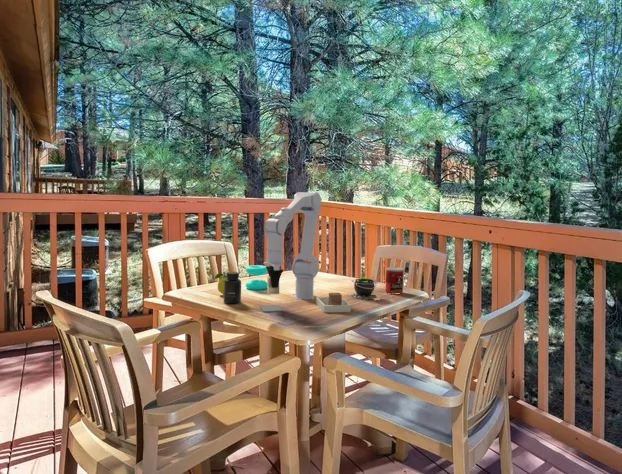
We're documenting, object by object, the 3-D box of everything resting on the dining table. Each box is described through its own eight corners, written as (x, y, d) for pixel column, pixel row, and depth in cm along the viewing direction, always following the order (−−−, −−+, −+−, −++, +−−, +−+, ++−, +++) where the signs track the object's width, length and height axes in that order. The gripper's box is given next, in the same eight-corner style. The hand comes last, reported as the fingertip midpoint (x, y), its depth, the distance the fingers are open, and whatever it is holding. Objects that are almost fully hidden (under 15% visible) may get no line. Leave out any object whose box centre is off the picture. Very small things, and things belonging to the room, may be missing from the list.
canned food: (391, 295, 220) (392, 270, 219) (381, 291, 227) (382, 267, 226) (406, 294, 223) (407, 269, 222) (396, 290, 230) (397, 266, 229)
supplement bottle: (228, 305, 194) (228, 274, 193) (220, 301, 200) (220, 272, 199) (244, 303, 198) (244, 273, 197) (236, 299, 204) (236, 270, 203)
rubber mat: (260, 306, 194) (260, 305, 194) (283, 305, 196) (283, 304, 196) (263, 312, 185) (263, 311, 185) (287, 311, 187) (287, 310, 187)
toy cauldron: (362, 303, 203) (363, 276, 202) (339, 296, 215) (339, 271, 214) (389, 299, 212) (390, 273, 211) (365, 292, 224) (366, 268, 223)
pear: (214, 294, 213) (214, 270, 212) (227, 292, 217) (227, 269, 216) (220, 297, 208) (220, 273, 207) (233, 295, 211) (233, 272, 210)
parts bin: (315, 304, 199) (316, 297, 198) (340, 304, 201) (341, 296, 200) (323, 313, 185) (323, 305, 185) (350, 313, 187) (350, 305, 187)
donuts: (253, 269, 220) (241, 265, 227) (253, 291, 221) (241, 287, 228) (272, 267, 226) (259, 264, 234) (272, 288, 227) (259, 285, 235)
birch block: (277, 291, 192) (277, 275, 191) (279, 293, 188) (279, 277, 188) (267, 291, 191) (267, 276, 191) (268, 294, 187) (268, 278, 187)
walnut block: (328, 308, 191) (328, 292, 191) (338, 308, 192) (339, 292, 191) (330, 311, 187) (331, 295, 187) (341, 310, 188) (341, 295, 187)
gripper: (262, 248, 194) (261, 282, 196) (266, 253, 180) (265, 290, 182) (280, 248, 196) (279, 282, 197) (285, 253, 182) (284, 290, 183)
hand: (274, 286), depth 189 cm, fingers closed on birch block, 4 cm apart
